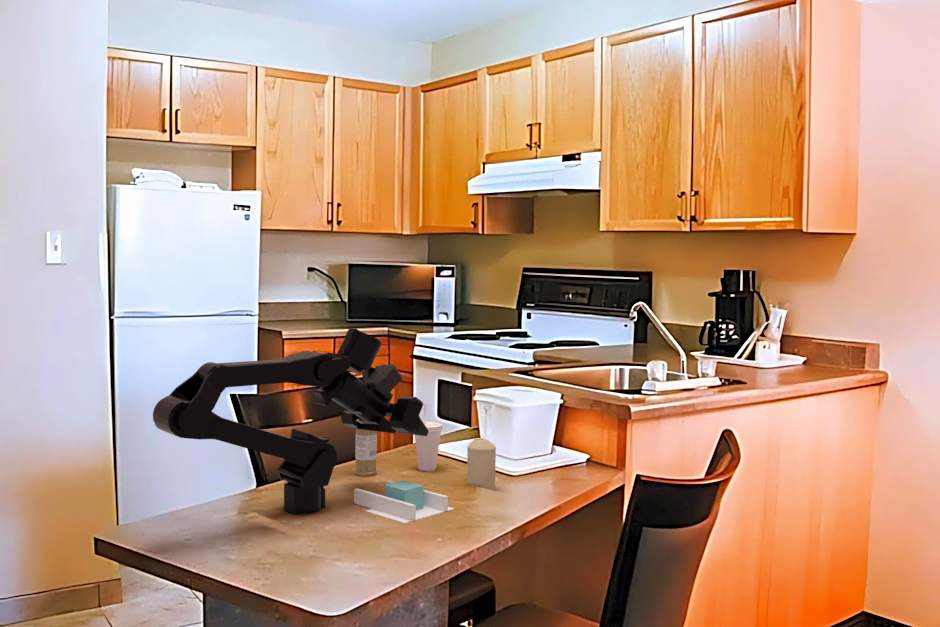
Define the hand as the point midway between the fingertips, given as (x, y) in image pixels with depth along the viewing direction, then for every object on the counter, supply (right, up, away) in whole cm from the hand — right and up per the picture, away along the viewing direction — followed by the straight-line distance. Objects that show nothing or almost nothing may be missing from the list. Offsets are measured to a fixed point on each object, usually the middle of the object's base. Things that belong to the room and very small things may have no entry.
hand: (410, 432), depth 173 cm
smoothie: (+2, -11, +22) cm, 24 cm away
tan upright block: (+13, -12, +6) cm, 19 cm away
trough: (-1, -13, -12) cm, 18 cm away
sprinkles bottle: (-10, -11, +17) cm, 23 cm away
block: (0, -12, -13) cm, 17 cm away
